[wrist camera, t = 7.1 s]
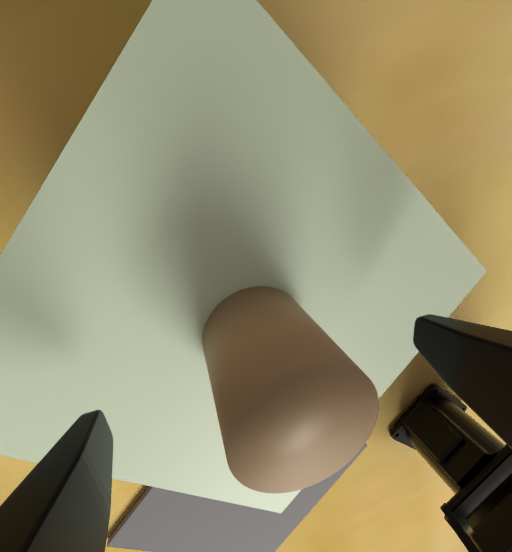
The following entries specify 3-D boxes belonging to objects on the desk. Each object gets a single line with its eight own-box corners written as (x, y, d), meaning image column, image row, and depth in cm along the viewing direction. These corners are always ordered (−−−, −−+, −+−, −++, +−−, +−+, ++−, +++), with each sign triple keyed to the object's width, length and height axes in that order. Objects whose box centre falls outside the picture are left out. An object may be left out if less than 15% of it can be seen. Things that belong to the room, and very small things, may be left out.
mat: (363, 441, 28) (367, 445, 27) (262, 557, 30) (264, 563, 29) (228, 382, 21) (229, 387, 20) (108, 538, 23) (106, 546, 22)
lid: (473, 266, 12) (625, 317, 8) (276, 500, 14) (323, 638, 10) (192, -53, 7) (242, -426, 2) (-89, 415, 8) (-343, 668, 4)
